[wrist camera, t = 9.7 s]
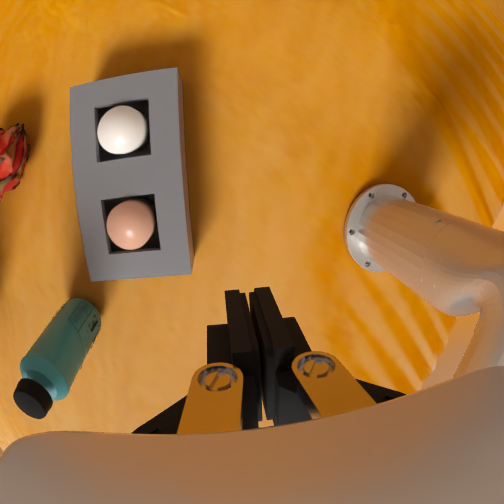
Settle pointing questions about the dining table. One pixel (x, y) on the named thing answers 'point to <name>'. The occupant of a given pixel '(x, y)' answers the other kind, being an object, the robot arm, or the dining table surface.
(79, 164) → the grey rectangular block
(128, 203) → the brown egg
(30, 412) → the beverage bottle
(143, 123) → the white rounded piece
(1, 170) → the dragon fruit
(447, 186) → the dining table surface
